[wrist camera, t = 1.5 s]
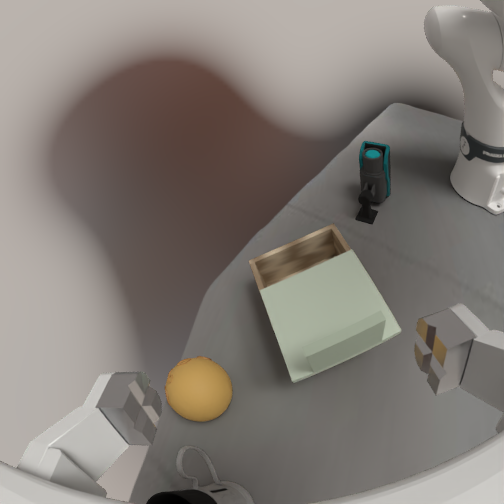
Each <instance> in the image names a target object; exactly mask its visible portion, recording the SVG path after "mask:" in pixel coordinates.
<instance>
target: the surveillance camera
mask: <svg viewBox="0 0 504 504" xmlns="http://www.w3.org/2000/svg"><path fill="white" fill-rule="evenodd" d="M359 163H360V179H361V191H362V192H361V194H360V196H359V202H360V204H362V207H361V209H360V211H359V213H358V215H357V217H356V220H358V221H362V222H366V223H369V224H373V222H374V219H375V217H376V215H377V213H378V211H376V210H372V209H371V206H370V203H371V201H373V202H377V203H381V202H383V201H384V200H385V198H386V196H388V197H389V195H390V147H389V146H388V145H385V144H380V143H374V142H368V141H364V142H363V143H362V146H361V149H360V155H359Z"/></svg>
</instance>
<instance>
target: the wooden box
mask: <svg viewBox="0 0 504 504" xmlns="http://www.w3.org/2000/svg"><path fill="white" fill-rule="evenodd" d="M349 250H351V249H350V247H349V246H348V244H347V243H346V241H345V240H344V238H343V237H342V235H341V234H340V232H339V231H338V229H337V228H336V226H335V225H334V223H333V224H331V225H329V226H326V227H324V228H322V229H320V230H317V231H315V232H313V233H311V234H308V235H306V236H304V237H302V238H299V239H297V240H295V241H293V242H290V243H288V244H286V245H284V246H281V247H279V248H277V249H274V250H272V251H270V252H268V253H265V254H263V255H261V256H259V257H256V258H254V259H252V260H249V263H250V266H251V269H252V272H253V275H254V277H255V280H256V283H257V286H258V289H259V291H260V290H262V289H264V288H266V287H269V286H271V285H273V284H276V283H278V282H280V281H282V280H285V279H287V278H289V277H292V276H294V275H296V274H298V273H301V272H303V271H305V270H307V269H310V268H312V267H314V266H316V265H318V264H321V263H323V262H325V261H327V260H329V259H332V258H334V257H336V256H338V255H340V254H343V253H345V252H347V251H349ZM260 294H261V293H260ZM261 297H262V296H261ZM262 300H263V299H262ZM263 303H264V302H263ZM264 305H265V304H264ZM265 308H266V307H265ZM266 311H267V310H266ZM267 314H268V313H267ZM268 317H269V315H268ZM269 319H270V318H269ZM270 322H271V321H270ZM271 325H272V324H271ZM272 328H273V327H272ZM273 330H274V329H273Z"/></svg>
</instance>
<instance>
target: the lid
mask: <svg viewBox="0 0 504 504" xmlns="http://www.w3.org/2000/svg"><path fill="white" fill-rule="evenodd" d="M260 293H261V296H262V299H263V302H264V304H265V307H266V310H267V313H268V315H269V318H270V321H271V324H272V327H273V329H274V332H275V335H276V338H277V340H278V343H279V346H280V349H281V352H282V354H283V357H284V360H285V363H286V365H287V368H288V371H289V374H290V376H291V379H292V382H293V383H295V382H298V381H300V380H303V379H305V378H308V377H310V376H312V375H315V374H317V373H320V372H322V371H324V370H326V369H329V368H331V367H333V366H336V365H338V364H340V363H342V362H344V361H346V360H349V359H351V358H353V357H355V356H357V355H359V354H361V353H363V352H365V351H367V350H369V349H371V348H373V347H375V346H377V345H379V344H381V343H383V342H385V341H387V340H389V339H391V338H392V337H394V336H396V335H398V334H400V333H401V329H400V327H399V325H398V323H397V321H396V320H395V318H394V316H393V315H392V313H391V311H390V309H389V308H388V306H387V304H386V303H385V301H384V299H383V298H382V296H381V294H380V293H379V291H378V289H377V288H376V286H375V284H374V283H373V281H372V279H371V278H370V276H369V275H368V273H367V271H366V270H365V268H364V267H363V265H362V264H361V262H360V260H359V259H358V257H357V256H356V254H355V253H354V251H353V250H352V249H351V250H349V251H347V252H345V253H343V254H340V255H338V256H336V257H334V258H332V259H329V260H327V261H325V262H323V263H321V264H318V265H316V266H314V267H312V268H310V269H307V270H305V271H303V272H301V273H298V274H296V275H294V276H292V277H289V278H287V279H285V280H282V281H280V282H278V283H276V284H273V285H271V286H269V287H266V288H264V289H262V290H260Z"/></svg>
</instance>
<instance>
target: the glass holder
mask: <svg viewBox="0 0 504 504" xmlns="http://www.w3.org/2000/svg"><path fill="white" fill-rule="evenodd" d="M187 449H194V450H196V451H197V452H198V453H200V454H201V455H202V457H203V458H204V459H205V461H206V463H207V465H208V467H209V470H210V472H211V475H212V477H213V479H214V481H215V482H214V483H212V484H210V485H208V486H203V487H198V479H197V478H196V477H193V476H187V475H186V474H185V472H184V470H183V467H182V459H183V455H184V453H185V451H186V450H187ZM176 467H177V470H178V473H179V474H180V476H182V477H183V478H186V479H192V481H193V488H187V489H182V490H180V491H171V492H161V493H157V494H155V495H153V496H152V497H151V498H150V499H149V500H148V501H147V503H146V504H254V502H253V499H252V497H251V495H250V494H249V493H248V491H247V490H246V489H245V488H243V487H242V486H240V485H239V484H237V483H234V482H230V481H219V479H218V476H217V474H216V471H215V469H214V467H213V464H212V462H211V460H210V458H209V457H208V455H207V454H206V453H205V452H204V451H203V450H201V449H200V448H198V447H195V446H183V447H182V448H181V449H180V450H179V452H178V455H177V459H176Z"/></svg>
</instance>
